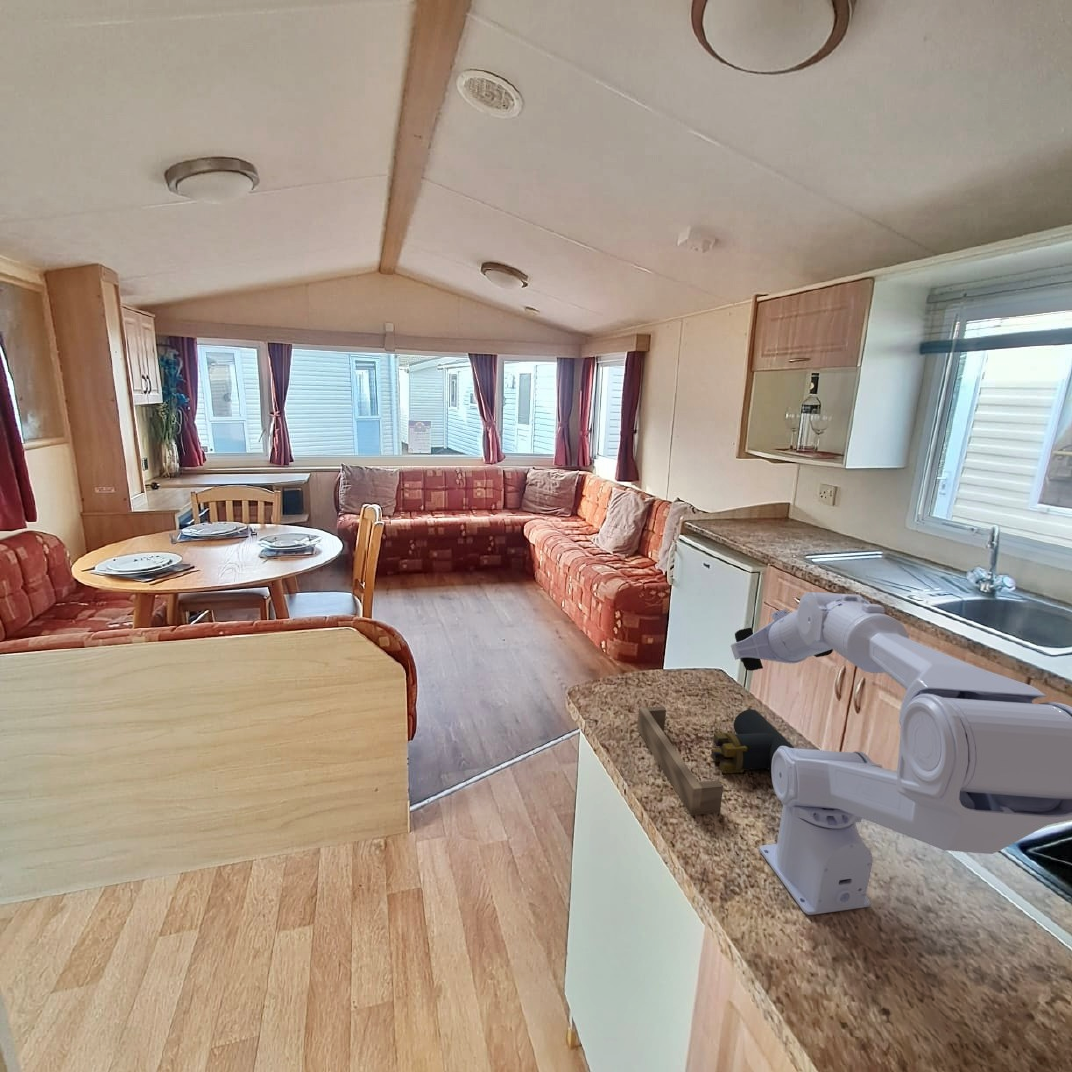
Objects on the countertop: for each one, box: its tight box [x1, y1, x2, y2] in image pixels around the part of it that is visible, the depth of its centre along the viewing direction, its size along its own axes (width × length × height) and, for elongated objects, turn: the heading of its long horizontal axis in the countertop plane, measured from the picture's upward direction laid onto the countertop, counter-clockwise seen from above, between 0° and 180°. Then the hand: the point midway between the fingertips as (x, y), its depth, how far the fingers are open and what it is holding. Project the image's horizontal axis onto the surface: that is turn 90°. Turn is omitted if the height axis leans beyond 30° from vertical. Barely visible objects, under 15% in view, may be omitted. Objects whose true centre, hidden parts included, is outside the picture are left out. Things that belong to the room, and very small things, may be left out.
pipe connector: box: [710, 708, 795, 774], centre depth 86 cm, size 12×5×15 cm
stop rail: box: [636, 705, 724, 816], centre depth 85 cm, size 20×4×4 cm, turn 10°
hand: (766, 649), depth 85 cm, fingers open, 7 cm apart
